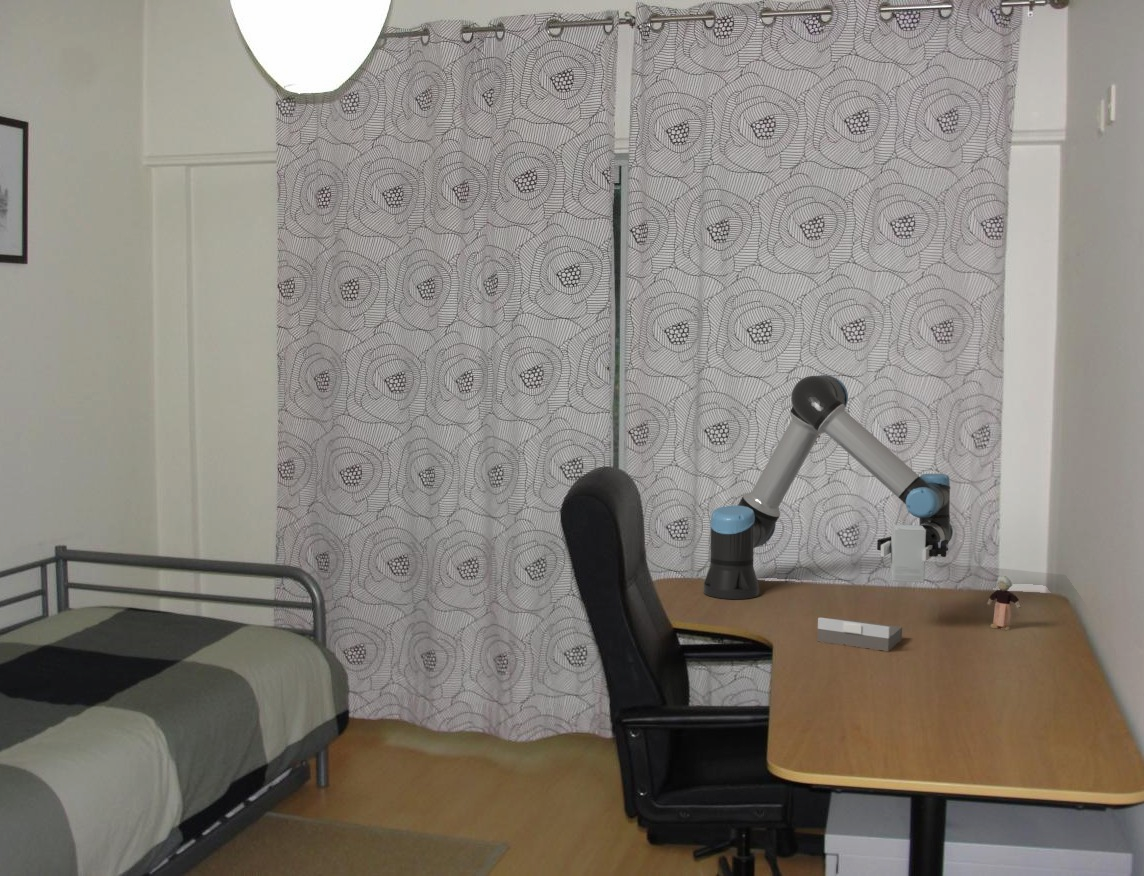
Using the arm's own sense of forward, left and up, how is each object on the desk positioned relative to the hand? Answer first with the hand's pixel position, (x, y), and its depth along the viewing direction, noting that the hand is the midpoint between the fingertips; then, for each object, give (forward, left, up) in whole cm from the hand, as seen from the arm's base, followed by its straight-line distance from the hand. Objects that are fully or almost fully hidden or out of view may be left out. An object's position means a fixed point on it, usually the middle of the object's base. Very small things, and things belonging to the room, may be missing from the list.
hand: (903, 552), depth 256 cm
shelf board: (-6, -13, -19) cm, 24 cm away
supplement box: (0, +5, -7) cm, 9 cm away
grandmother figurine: (+20, +17, -19) cm, 32 cm away
